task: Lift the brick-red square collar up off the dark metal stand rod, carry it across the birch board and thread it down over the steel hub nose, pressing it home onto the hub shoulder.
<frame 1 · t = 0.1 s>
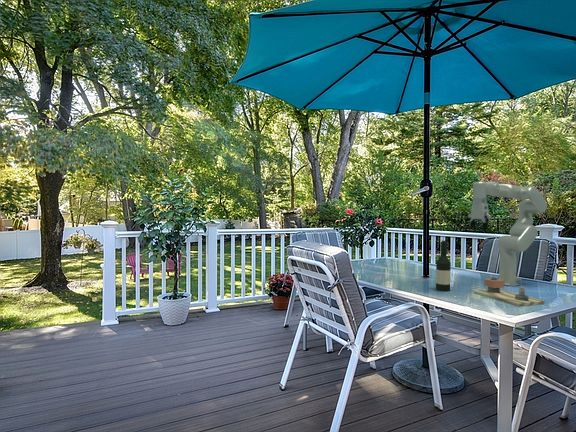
hand: (479, 228, 232), 37 cm above the table, tool pointing down, fingers open, 9 cm apart
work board: (507, 298, 204), on the table
wine bottle: (443, 290, 223), on the table
collar: (493, 286, 213), point 4 cm above the table, touching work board
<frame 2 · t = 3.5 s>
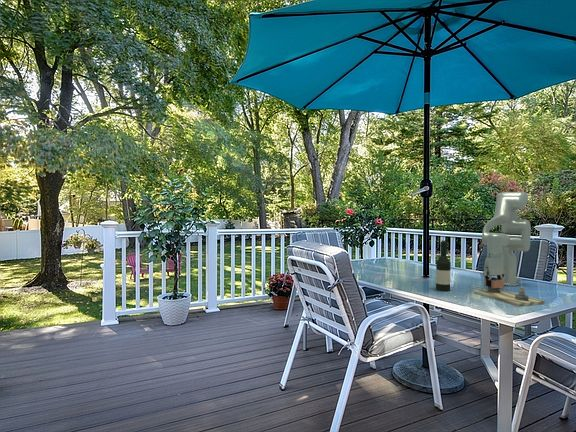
hand: (493, 285, 213), 5 cm above the table, tool pointing down, fingers closed on collar, 7 cm apart
collar: (493, 286, 213), point 4 cm above the table, touching gripper, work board
everything else where it was.
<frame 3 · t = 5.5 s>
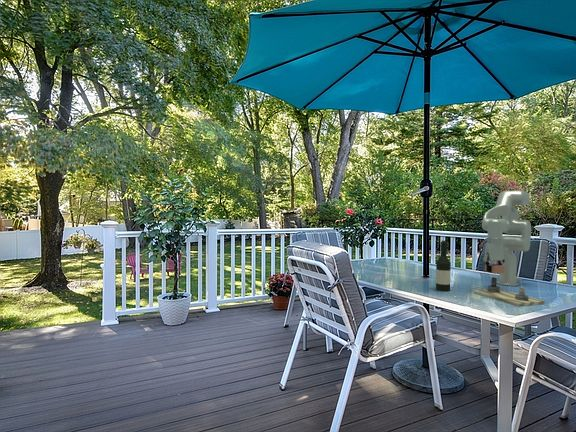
hand: (494, 271, 213), 13 cm above the table, tool pointing down, fingers closed on collar, 7 cm apart
collar: (494, 272, 213), point 13 cm above the table, touching gripper
everything else where it was.
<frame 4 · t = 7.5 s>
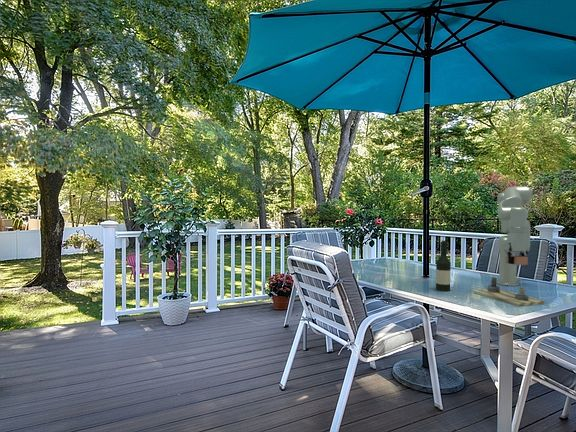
hand: (516, 263, 198), 20 cm above the table, tool pointing down, fingers closed on collar, 7 cm apart
collar: (516, 263, 198), point 20 cm above the table, touching gripper
everything else where it was.
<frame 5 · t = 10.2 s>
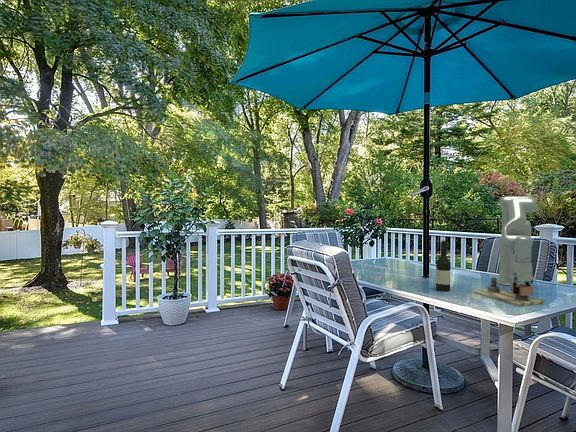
hand: (521, 293, 195), 5 cm above the table, tool pointing down, fingers closed on collar, 7 cm apart
collar: (521, 293, 195), point 5 cm above the table, touching gripper
everything else where it was.
when the fingers open (4 cm above the table, at t = 12.0 s): collar stays where it is, resting on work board.
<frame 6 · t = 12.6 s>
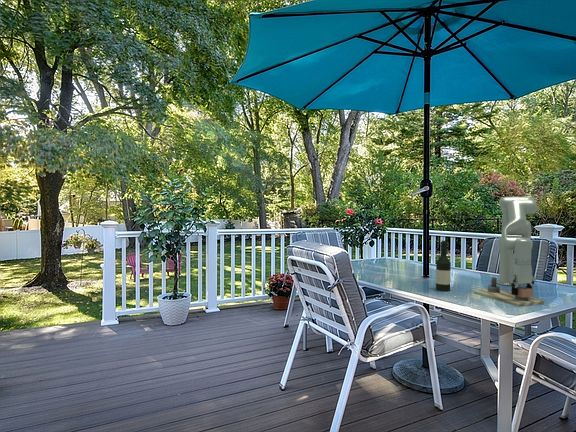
hand: (521, 294, 195), 4 cm above the table, tool pointing down, fingers open, 9 cm apart
collar: (521, 295, 195), point 3 cm above the table, touching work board
everything else where it was.
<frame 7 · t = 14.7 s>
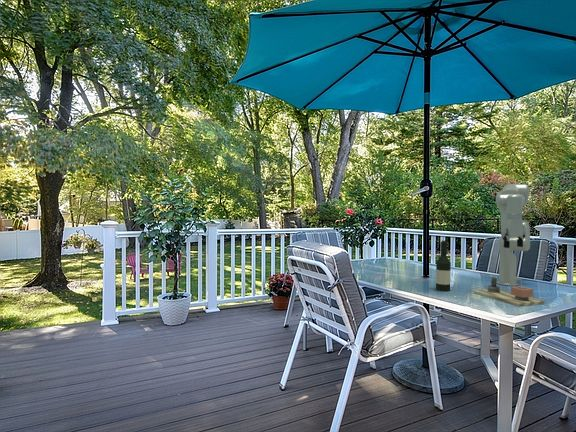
hand: (513, 247, 207), 28 cm above the table, tool pointing down, fingers open, 9 cm apart
nothing on the table moved.
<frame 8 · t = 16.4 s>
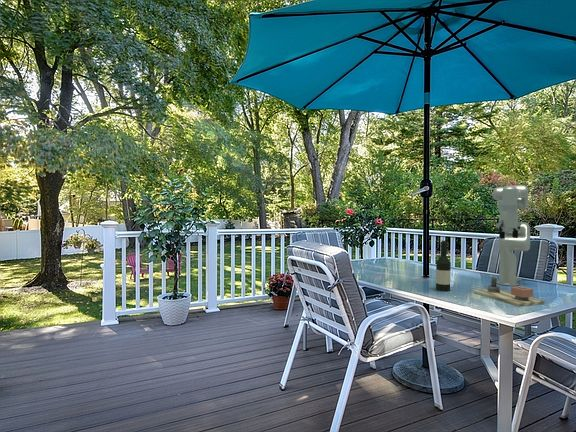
hand: (508, 238, 213), 32 cm above the table, tool pointing down, fingers open, 9 cm apart
nothing on the table moved.
at the end: collar 0.0 cm from the target spot, point 3.5 cm above the table; collar tilted 0°; the gripper is holding nothing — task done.
